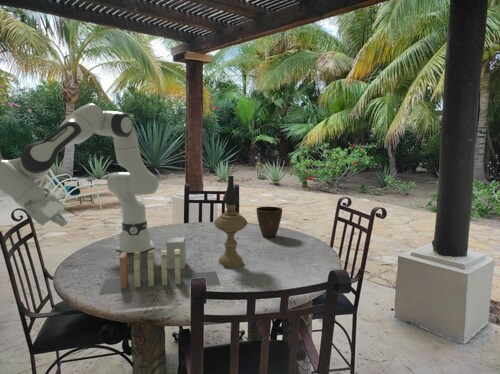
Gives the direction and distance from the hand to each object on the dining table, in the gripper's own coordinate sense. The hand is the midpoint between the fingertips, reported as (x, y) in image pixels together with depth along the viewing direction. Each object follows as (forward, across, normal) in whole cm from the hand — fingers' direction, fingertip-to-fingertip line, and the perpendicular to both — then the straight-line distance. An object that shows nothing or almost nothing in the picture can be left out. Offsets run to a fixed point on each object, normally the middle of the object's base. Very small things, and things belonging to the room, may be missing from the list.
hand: (65, 224), depth 131 cm
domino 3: (+38, 0, -3) cm, 38 cm away
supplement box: (+46, +17, -10) cm, 50 cm away
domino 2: (+35, 0, 0) cm, 35 cm away
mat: (+42, 0, -6) cm, 42 cm away
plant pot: (+84, +57, -47) cm, 112 cm away
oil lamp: (+63, +17, -27) cm, 70 cm away
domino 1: (+31, 0, +4) cm, 31 cm away
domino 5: (+45, 0, -10) cm, 46 cm away
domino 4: (+42, 0, -7) cm, 42 cm away
